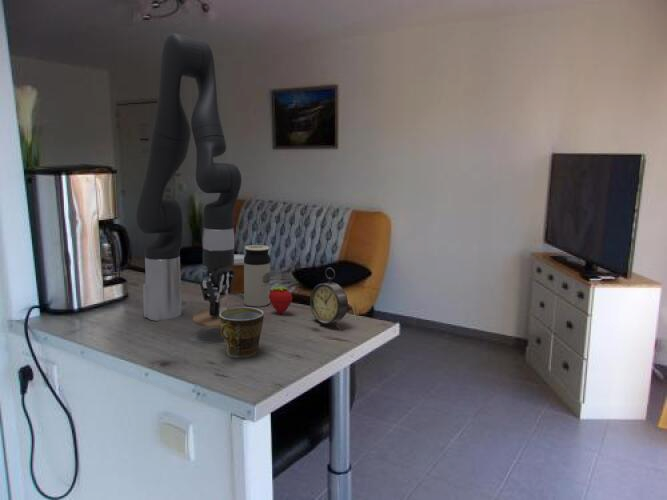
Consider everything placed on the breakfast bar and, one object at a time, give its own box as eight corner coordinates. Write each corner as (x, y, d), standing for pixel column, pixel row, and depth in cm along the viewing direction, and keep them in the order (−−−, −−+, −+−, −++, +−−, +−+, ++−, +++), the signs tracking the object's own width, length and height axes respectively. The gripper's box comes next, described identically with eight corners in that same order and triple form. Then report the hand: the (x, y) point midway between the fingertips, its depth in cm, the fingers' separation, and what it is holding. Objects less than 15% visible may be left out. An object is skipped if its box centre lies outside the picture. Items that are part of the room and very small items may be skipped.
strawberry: (282, 319, 143) (282, 285, 141) (264, 314, 148) (264, 280, 146) (296, 315, 147) (297, 282, 146) (278, 309, 152) (279, 277, 150)
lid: (183, 323, 123) (183, 299, 122) (209, 309, 134) (209, 287, 133) (228, 330, 120) (228, 306, 118) (250, 315, 131) (250, 293, 130)
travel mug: (238, 303, 157) (238, 246, 154) (258, 298, 163) (258, 243, 160) (255, 308, 152) (255, 250, 149) (275, 303, 158) (275, 247, 155)
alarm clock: (308, 322, 141) (309, 265, 138) (321, 318, 145) (323, 263, 142) (337, 332, 134) (338, 272, 131) (350, 327, 138) (352, 269, 135)
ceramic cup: (235, 344, 123) (235, 304, 122) (271, 351, 120) (271, 310, 118) (202, 363, 112) (201, 320, 110) (241, 371, 108) (241, 326, 106)
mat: (187, 342, 124) (187, 339, 124) (210, 328, 134) (210, 326, 134) (228, 347, 121) (228, 345, 121) (248, 333, 131) (248, 330, 131)
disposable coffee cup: (236, 296, 165) (235, 260, 163) (215, 291, 170) (214, 256, 168) (255, 290, 173) (255, 256, 171) (234, 286, 178) (234, 252, 176)
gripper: (219, 240, 131) (218, 304, 134) (189, 249, 117) (189, 320, 121) (245, 243, 129) (244, 307, 132) (217, 252, 115) (217, 324, 119)
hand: (218, 313), depth 126 cm, fingers closed on lid, 3 cm apart
